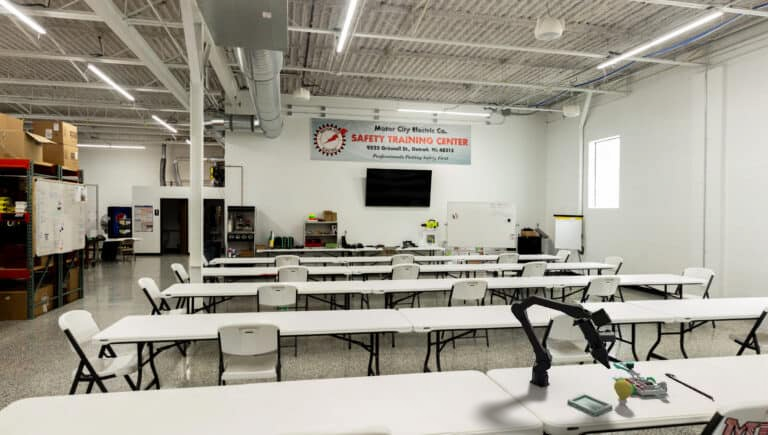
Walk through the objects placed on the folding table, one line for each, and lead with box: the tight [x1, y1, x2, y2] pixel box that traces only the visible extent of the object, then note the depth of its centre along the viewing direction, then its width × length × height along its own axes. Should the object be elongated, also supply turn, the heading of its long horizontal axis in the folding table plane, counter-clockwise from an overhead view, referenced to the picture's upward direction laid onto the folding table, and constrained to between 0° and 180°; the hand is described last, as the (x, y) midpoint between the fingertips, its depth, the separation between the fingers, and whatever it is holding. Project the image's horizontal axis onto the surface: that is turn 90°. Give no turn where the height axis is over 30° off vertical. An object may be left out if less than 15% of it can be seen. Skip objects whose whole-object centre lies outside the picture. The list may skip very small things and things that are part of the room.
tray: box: [567, 392, 613, 417], centre depth 167 cm, size 12×12×2 cm
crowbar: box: [664, 372, 714, 402], centre depth 189 cm, size 28×1×5 cm
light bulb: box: [613, 379, 633, 406], centre depth 170 cm, size 7×7×10 cm
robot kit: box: [613, 361, 668, 396], centre depth 189 cm, size 19×25×9 cm
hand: (609, 365), depth 175 cm, fingers open, 9 cm apart
